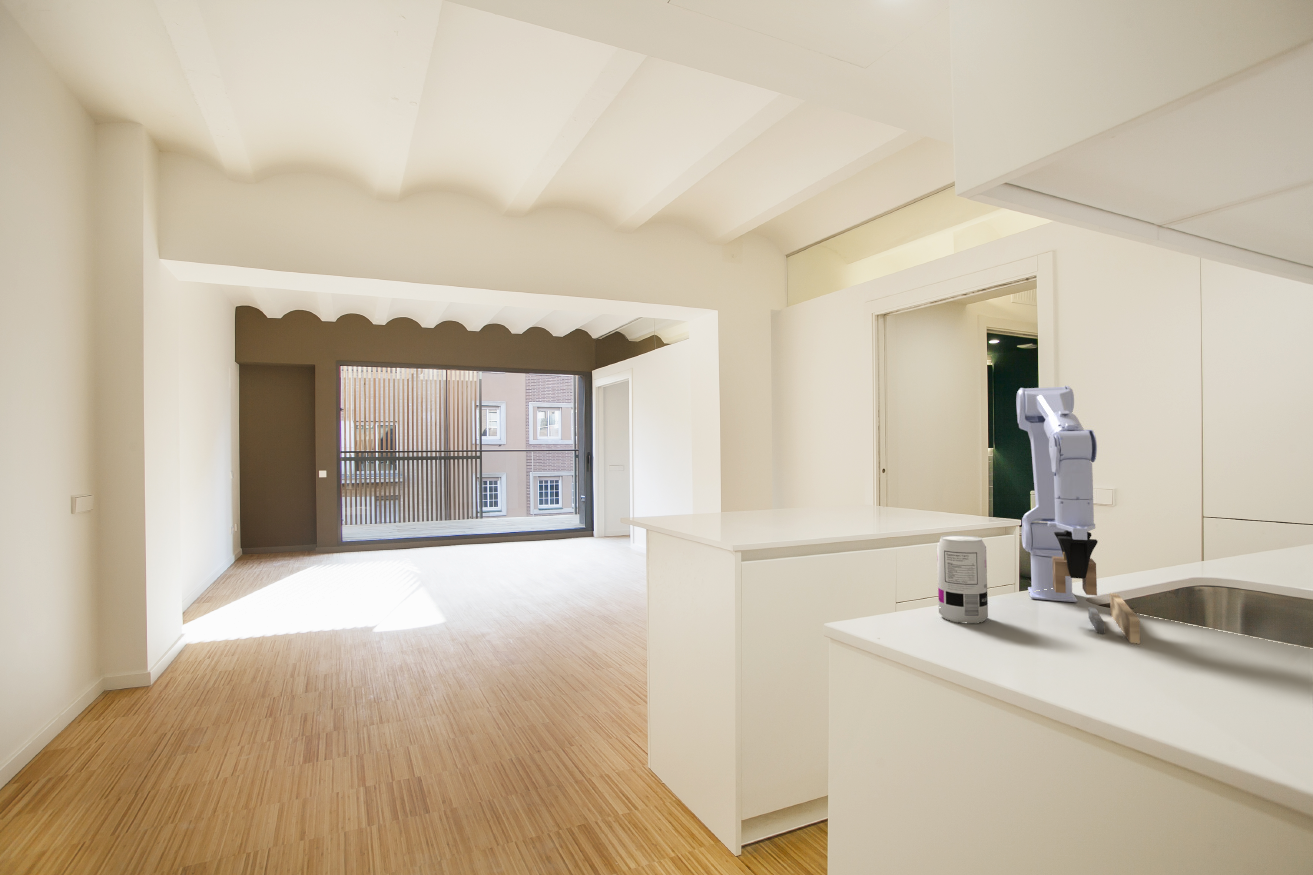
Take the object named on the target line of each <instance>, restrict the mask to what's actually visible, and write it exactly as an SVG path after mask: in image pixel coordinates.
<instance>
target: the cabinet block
mask: <svg viewBox="0 0 1313 875" xmlns="http://www.w3.org/2000/svg"><path fill="white" fill-rule="evenodd" d="M1052 567H1053V587H1054V590H1055V592H1057V593H1066V580H1065V576H1070V574H1069V570H1068V565H1067V560H1066V556H1065V552H1063V557H1055V556H1052ZM1097 581H1098V580H1097V563H1096V561H1095V560H1094V559H1093V558H1091V557H1090V560H1089V565H1088V570H1087V574H1086V578H1085V579H1082V582H1081V583H1082V590H1083V591H1084V593H1085V594H1086V596H1098V587H1097V586H1098V583H1097Z"/></svg>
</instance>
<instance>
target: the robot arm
mask: <svg viewBox="0 0 1313 875" xmlns="http://www.w3.org/2000/svg"><path fill="white" fill-rule="evenodd" d="M1016 392H1017V393H1016V399H1015V401H1016V404H1015V405H1016V415H1017V416H1016V417H1017V418H1016V419H1017V424H1018V428H1019V429H1020V430H1023V431H1025V432H1027V433H1028V437H1029V440H1030V449H1031V457H1032V458H1031V459H1032V460H1031V461H1032V473H1033V483H1034V484H1033V485H1034V486H1033V487H1034V499H1035V502H1034V503H1035V507H1033V508H1032V509H1030V510H1028V511H1027V512H1026V513H1024V515H1023V517H1021V525H1022V526H1021V543H1022V547H1023V549H1024V550H1025V551H1026V552H1029V553H1030V577H1031V586H1028V587H1027V590H1028V594H1029V597H1030V599H1031V600H1032V599H1033V600H1044V601H1055V602H1066V603H1067V602H1068V603H1069V602H1070V603H1077V602H1078V599H1077V598H1076V596H1075V595H1074V592H1073V579H1079V580H1081V579H1085V578H1086V574H1087V570H1088V565H1089V560H1090V558H1091V556H1092V554H1093V552H1094V549H1095V548H1096V546H1097V545H1098V543H1099V542H1098V541H1099V540H1097V539H1096V538H1095V539H1093V538H1091V537H1092V533H1091V532H1090V531H1092V530H1094V529H1096V523H1095V519H1094V518H1095V515H1094V514H1095V513H1094V511H1095V510H1094V480H1093V479H1094V478H1093V476H1094V475H1093V463H1095V461H1096V460H1097V453H1098V443H1097V437H1096V434H1095V432H1094V430H1093V429H1084V427H1083V425H1082V423H1081V422H1080V420H1079V418H1078V417H1077V415H1076V414H1074V413H1073V411H1074V408H1075V407H1074V406H1075V394H1074V390H1073V389H1072V388H1071V387H1070V386H1069V385H1065V386H1050V387H1034V388H1033V387H1031V388H1029V387H1027V388H1024V387H1020V388H1019V389H1018V391H1016ZM1063 552H1065V556H1066V560H1067V565H1068V570H1069V574H1070V576H1065V580H1066V593H1057V592H1055V590H1054V587H1053V567H1052V556H1055V557H1063ZM1051 588H1053V589H1051ZM1044 589H1047V590H1044ZM1036 590H1040V591H1036ZM1034 591H1036V592H1034ZM1029 592H1030V593H1029Z"/></svg>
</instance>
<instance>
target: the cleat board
mask: <svg viewBox="0 0 1313 875" xmlns="http://www.w3.org/2000/svg"><path fill="white" fill-rule="evenodd" d="M1109 606H1110V607H1109V610H1110V612H1109V614H1110V616H1111V617H1113V618H1112V619H1113V620H1114V622H1115V621H1116V622H1115V623H1116V625H1117V624H1118V625H1117V626H1118V627H1119V629H1120V628H1121V629H1120V631H1121V632H1122V631H1123V632H1122V633H1123V635H1124V636H1125V637H1126V639H1127V638H1128V639H1127V640H1128V641H1129V643H1130V644H1136V643H1137V644H1138V645H1140V644H1141V638H1140V637H1141V635H1140V634H1141V632H1140V618H1139V617H1138V616H1137V614H1136V613H1135V612H1134V611H1133V610H1132V608H1130V606H1129V605H1128V604H1127V603H1126V601H1124V600H1123V598H1122V597H1121V596H1120V595H1119V593H1114V592H1113V593H1111V592H1110V593H1109ZM1087 610H1088V611H1087V612H1088V619H1089V622H1090V623H1091V625H1092V626H1094V627H1093V628H1094V630H1095V632H1096V633H1097V634H1103V635H1104V634H1105V621H1104V620H1103V618H1102V617H1101V615H1100V613H1099V612H1098V610H1097V609H1096V607H1092V606H1088V608H1087Z"/></svg>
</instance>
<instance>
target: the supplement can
mask: <svg viewBox="0 0 1313 875" xmlns="http://www.w3.org/2000/svg"><path fill="white" fill-rule="evenodd" d="M936 548H937V550H936V552H937V553H936V554H937V556H936V557H937V584H938V586H937V589H938V590H937V594H938V613H939V615H940V616H941V617H942V616H943V617H942V618H943V619H944V618H945V619H944V620H946V619H947V620H946V621H949V620H950V621H949V622H953V623H958V622H967V623H975V624H979V623H978V622H981V623H984V622H985V620H987V619H988V617H989V605H988V604H989V603H988V601H989V600H988V571H987V570H988V568H987V567H988V566H987V563H988V562H987V546H986V545H985V543H984V541H983V537H979V536H975V535H965V534H964V535H963V534H949V535H948V534H946V535H941V536H940V539H939V541H938V543H937V544H936ZM939 607H941V608H939ZM983 621H984V622H983ZM967 623H966V624H967Z"/></svg>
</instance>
